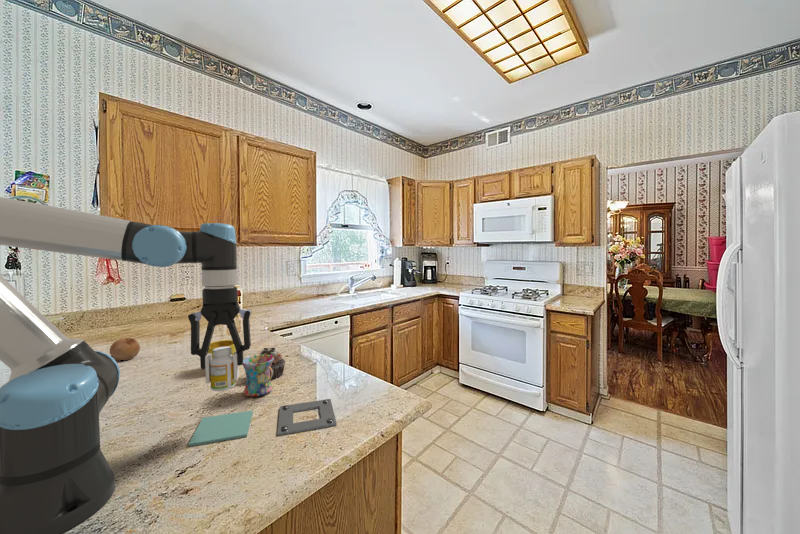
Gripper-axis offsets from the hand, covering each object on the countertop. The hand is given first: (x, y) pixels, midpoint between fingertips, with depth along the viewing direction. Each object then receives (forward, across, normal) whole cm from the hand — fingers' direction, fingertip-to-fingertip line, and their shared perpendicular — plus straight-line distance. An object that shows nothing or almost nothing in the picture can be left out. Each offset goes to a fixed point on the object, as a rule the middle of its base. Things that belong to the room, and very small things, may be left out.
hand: (223, 379), depth 78 cm
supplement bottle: (+2, 0, 0) cm, 2 cm away
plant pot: (+13, +9, -45) cm, 48 cm away
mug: (+13, -7, -18) cm, 23 cm away
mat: (+12, 0, 0) cm, 12 cm away
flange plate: (+13, -20, +1) cm, 24 cm away
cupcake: (+13, -9, -32) cm, 36 cm away
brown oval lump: (+13, +49, -70) cm, 86 cm away
